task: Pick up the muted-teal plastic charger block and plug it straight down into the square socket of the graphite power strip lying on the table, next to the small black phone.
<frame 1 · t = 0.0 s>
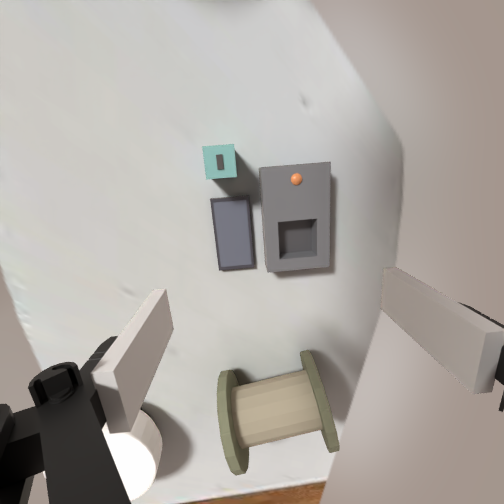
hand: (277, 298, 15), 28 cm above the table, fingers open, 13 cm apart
bowl: (121, 423, 53), on the table
phone: (233, 233, 43), on the table
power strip: (292, 216, 42), on the table
charger: (222, 164, 39), on the table
spool: (270, 374, 52), on the table
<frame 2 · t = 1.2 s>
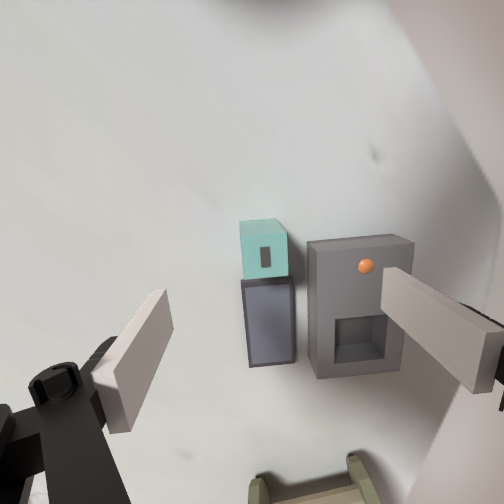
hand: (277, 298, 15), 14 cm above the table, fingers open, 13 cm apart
phone: (268, 321, 32), on the table
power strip: (347, 299, 32), on the table
charger: (258, 237, 29), on the table
spool: (306, 475, 41), on the table
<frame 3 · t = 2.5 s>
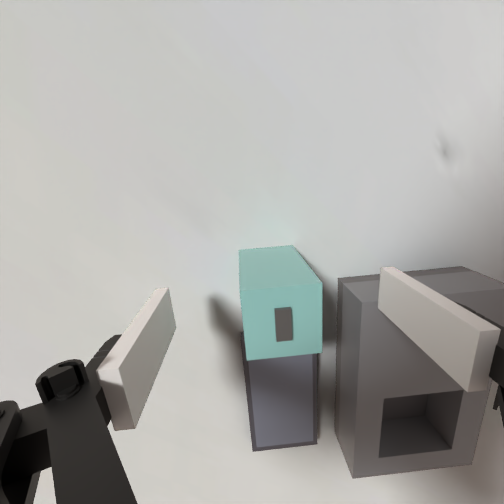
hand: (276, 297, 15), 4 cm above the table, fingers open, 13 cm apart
phone: (280, 387, 23), on the table
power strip: (392, 356, 22), on the table
charger: (267, 272, 19), on the table
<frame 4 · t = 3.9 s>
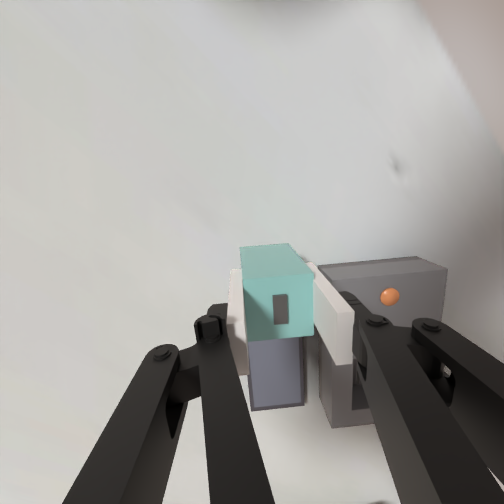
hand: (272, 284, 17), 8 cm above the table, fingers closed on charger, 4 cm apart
phone: (273, 356, 28), on the table
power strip: (364, 331, 27), on the table
charger: (265, 268, 21), point 3 cm above the table, touching gripper
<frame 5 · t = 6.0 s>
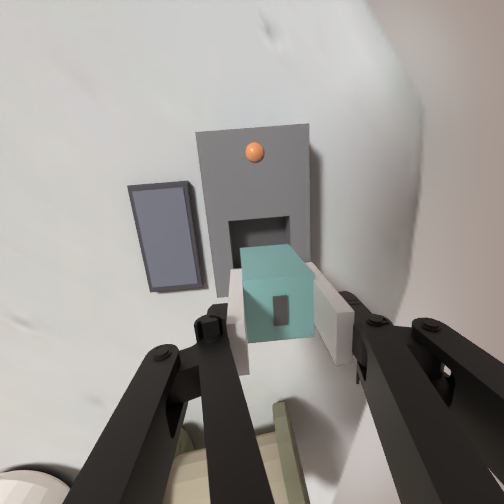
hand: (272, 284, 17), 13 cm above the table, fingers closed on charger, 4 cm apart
bowl: (36, 492, 39), on the table
phone: (169, 237, 29), on the table
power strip: (256, 212, 28), on the table
charger: (265, 268, 21), point 9 cm above the table, touching gripper
spool: (235, 427, 38), on the table
when the fingers open (6 cm above the table, at t = 8.0 s): charger moves 1 cm, resting on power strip.
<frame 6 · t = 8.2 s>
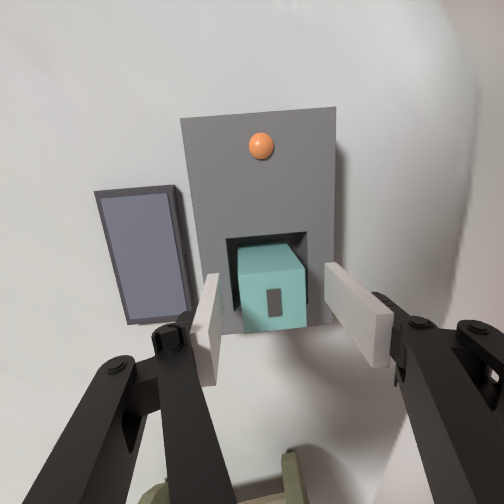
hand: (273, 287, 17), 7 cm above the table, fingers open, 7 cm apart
phone: (151, 256, 23), on the table
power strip: (261, 224, 22), on the table
charger: (262, 264, 22), point 1 cm above the table, touching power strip
spool: (234, 479, 32), on the table
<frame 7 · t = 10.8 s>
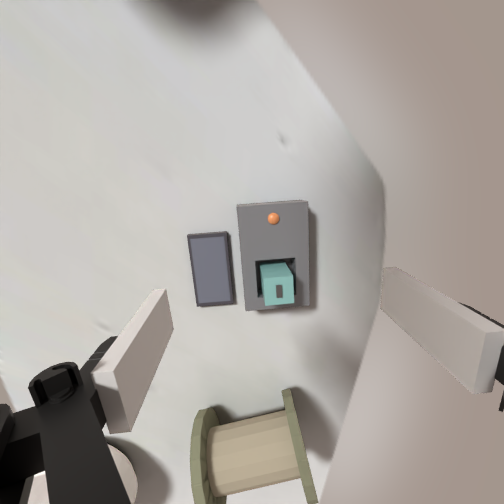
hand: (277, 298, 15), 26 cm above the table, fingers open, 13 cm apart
bowl: (96, 460, 51), on the table
phone: (211, 268, 41), on the table
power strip: (271, 252, 41), on the table
charger: (272, 273, 41), point 1 cm above the table, touching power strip
spool: (252, 410, 50), on the table
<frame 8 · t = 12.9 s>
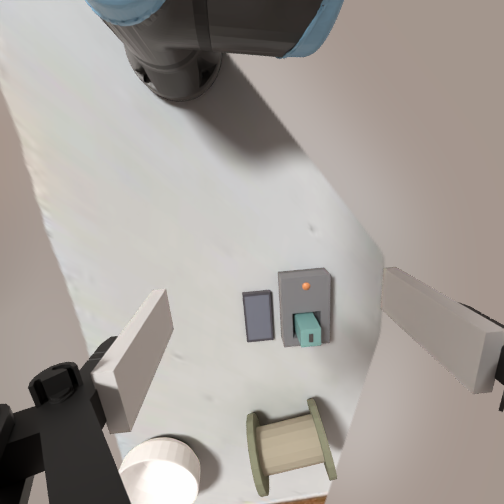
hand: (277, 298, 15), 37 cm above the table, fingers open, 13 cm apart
bowl: (166, 451, 68), on the table
phone: (258, 315, 57), on the table
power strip: (301, 303, 57), on the table
charger: (302, 318, 57), point 1 cm above the table, touching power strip
spool: (283, 413, 66), on the table
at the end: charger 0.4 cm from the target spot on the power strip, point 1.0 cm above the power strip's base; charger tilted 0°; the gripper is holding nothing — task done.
